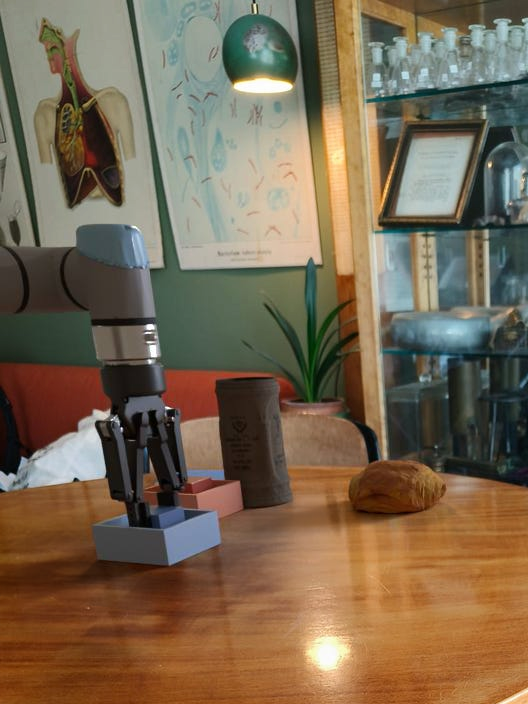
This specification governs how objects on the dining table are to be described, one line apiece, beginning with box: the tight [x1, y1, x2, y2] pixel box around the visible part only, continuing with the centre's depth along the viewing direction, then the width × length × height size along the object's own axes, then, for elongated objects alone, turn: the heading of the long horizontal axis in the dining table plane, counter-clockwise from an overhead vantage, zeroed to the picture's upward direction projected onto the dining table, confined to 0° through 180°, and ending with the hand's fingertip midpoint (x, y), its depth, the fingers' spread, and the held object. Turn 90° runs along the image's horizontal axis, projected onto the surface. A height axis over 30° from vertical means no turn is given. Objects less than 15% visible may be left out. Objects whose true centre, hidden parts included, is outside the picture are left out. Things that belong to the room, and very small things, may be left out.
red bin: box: [143, 479, 244, 520], centre depth 136 cm, size 11×11×5 cm
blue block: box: [127, 505, 185, 529], centre depth 116 cm, size 5×5×5 cm
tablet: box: [154, 469, 225, 485], centre depth 162 cm, size 19×13×1 cm, turn 88°
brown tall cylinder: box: [214, 376, 294, 509], centre depth 145 cm, size 15×11×20 cm
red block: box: [178, 476, 213, 494], centre depth 136 cm, size 5×5×5 cm
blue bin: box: [90, 508, 222, 567], centre depth 117 cm, size 11×11×5 cm
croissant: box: [347, 459, 447, 514], centre depth 139 cm, size 14×16×8 cm
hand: (160, 544), depth 117 cm, fingers closed on blue block, 5 cm apart
